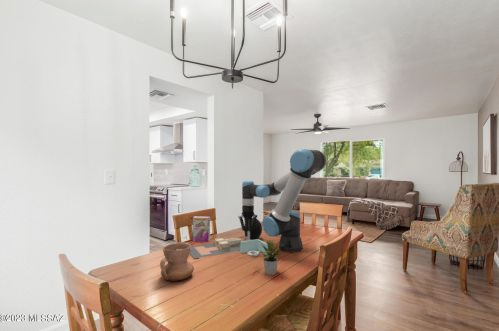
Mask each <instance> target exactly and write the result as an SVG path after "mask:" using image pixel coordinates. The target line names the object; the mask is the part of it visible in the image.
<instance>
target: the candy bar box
mask: <svg viewBox="0 0 499 331" xmlns="http://www.w3.org/2000/svg"><path fill="white" fill-rule="evenodd" d="M191 229H192V235H191V236H192V237H191V240H192V242H197V243H198V242H200V243H202V242H203V243H205V242H206V243H208V242H210V241H211V216H197V215H195V216H192V228H191Z"/></svg>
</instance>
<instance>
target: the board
mask: <svg viewBox="0 0 499 331" xmlns="http://www.w3.org/2000/svg"><path fill="white" fill-rule="evenodd" d="M240 247H241V246H237V247H231V248H230V251H224V252H222V251H221V250H219V249H218V248H217V247H216V246H215V245H214V242H212V243H205V244H196V245H191V249H192V250H191V251H190V254H189V256H191V258H192V259H193V260H199V259H200V258H205V257H212V256H218V255H224V254H230V253H236V252H240Z"/></svg>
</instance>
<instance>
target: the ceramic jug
mask: <svg viewBox="0 0 499 331" xmlns="http://www.w3.org/2000/svg"><path fill="white" fill-rule="evenodd" d="M191 246H192V245H191V244H190V243H189V242H188V243H187V242H183V241H182V242H180V241H179V242H175V243H169V244H167V245H165V246H164V247H162V252H163V255H164V257H163V258H162V259H161V260H160V263H159V266H160V267H159V268H160V270H161V271H160V276H161V277H162V278H163V279H165V280H167V281H170V282H171V281H172V282H177V281H182V280H185V279H188V278H189V277H191V275H192V274H193V273H194V269H195V268H194V267H195V266H194V265H193V264H192V263H191V261H188V259H189V257H190V251H191V250H192V249H191ZM166 262H167V263H166Z"/></svg>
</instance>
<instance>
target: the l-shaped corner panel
mask: <svg viewBox="0 0 499 331" xmlns="http://www.w3.org/2000/svg"><path fill="white" fill-rule="evenodd" d="M259 241H260V242H259ZM258 242H259V243H258ZM261 243H262V244H263V245H264V246H265V247H266V248H267V249H268V245H267V242H265V241H263V240H261V239H259V238H258V239H256V240H251V239H250V240H249V241H246V240H245V241H244V240H242V242H241V247H240V251H239V252H240V254H246V253H247V255H248V256H249V257H252V258H256V257H258V256H260V253H259V252H266V251H265V249H264V248H263V245H262V244H261ZM258 245H259V246H258ZM261 245H262V246H261ZM257 249H258V250H257ZM259 250H260V251H259ZM258 253H259V254H258ZM266 254H267V253H266ZM262 255H263V256H264V255H265V253H262ZM266 257H267V256H266Z"/></svg>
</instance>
